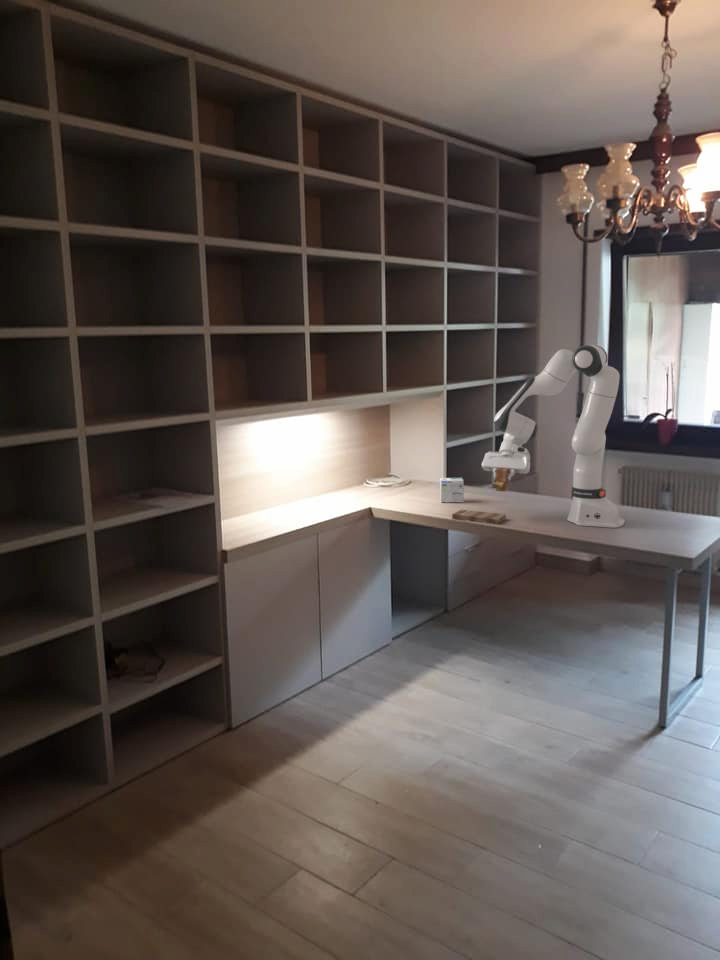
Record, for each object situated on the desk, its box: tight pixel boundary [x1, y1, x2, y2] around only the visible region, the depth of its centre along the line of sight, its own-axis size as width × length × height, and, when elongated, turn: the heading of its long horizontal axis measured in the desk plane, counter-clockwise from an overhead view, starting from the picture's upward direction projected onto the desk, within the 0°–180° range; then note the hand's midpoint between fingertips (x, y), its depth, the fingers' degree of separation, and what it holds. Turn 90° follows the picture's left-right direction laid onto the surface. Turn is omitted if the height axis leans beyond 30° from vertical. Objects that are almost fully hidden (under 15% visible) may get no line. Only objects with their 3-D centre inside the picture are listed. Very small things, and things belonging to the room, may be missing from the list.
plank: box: [451, 509, 507, 525], centre depth 326 cm, size 20×10×2 cm, turn 61°
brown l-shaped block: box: [491, 468, 509, 493], centre depth 324 cm, size 4×10×9 cm, turn 151°
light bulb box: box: [439, 477, 465, 504], centre depth 358 cm, size 11×7×11 cm, turn 89°
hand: (501, 479), depth 325 cm, fingers closed on brown l-shaped block, 4 cm apart
